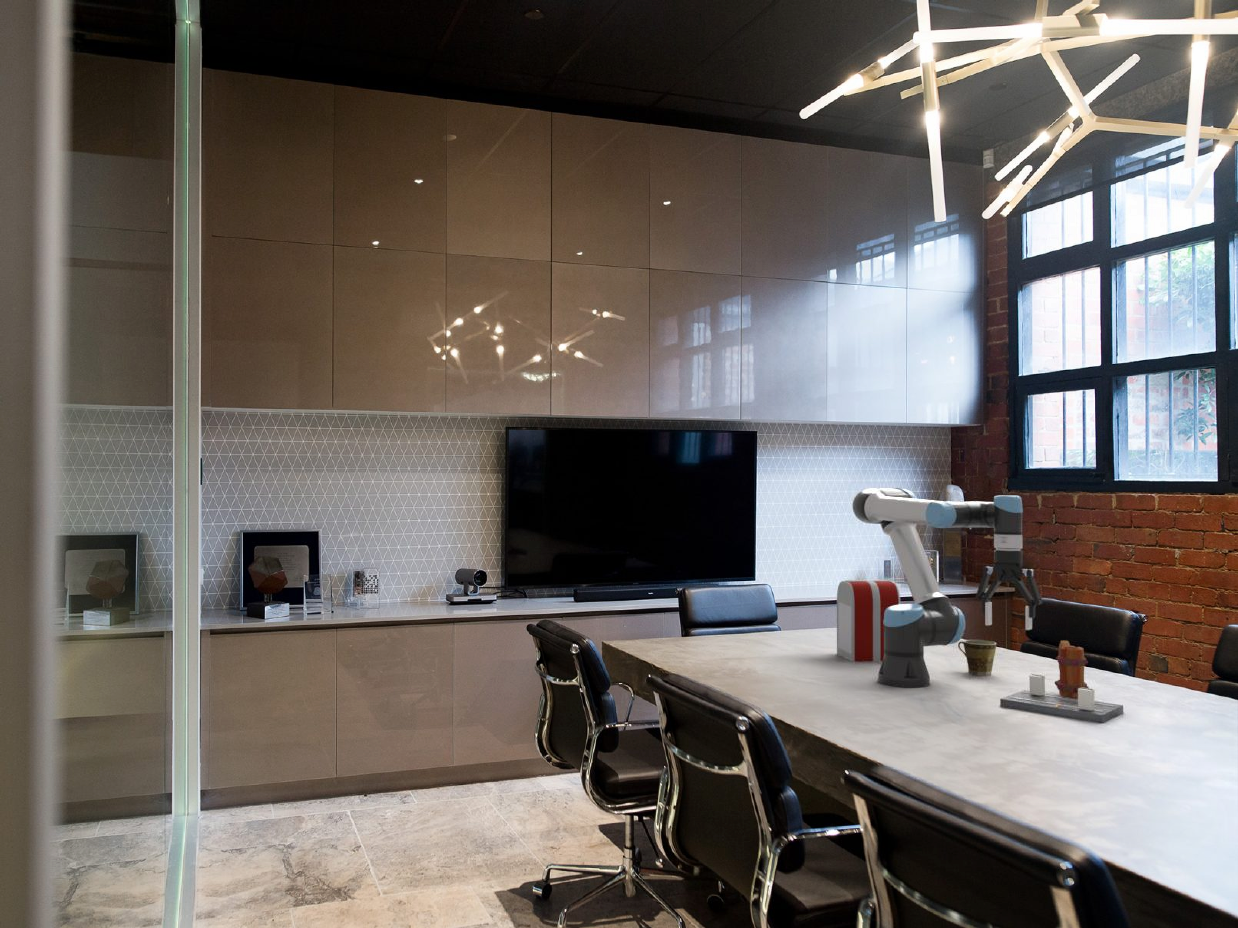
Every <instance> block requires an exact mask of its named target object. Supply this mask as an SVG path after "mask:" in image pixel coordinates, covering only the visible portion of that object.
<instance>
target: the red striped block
mask: <svg viewBox="0 0 1238 928" xmlns="http://www.w3.org/2000/svg"><path fill="white" fill-rule="evenodd" d="M899 604H901V595H900V590H899V587H898V585H897V584H896V582H893V581H892V580H889V579H862V580H861V579H855V580H854V579H853V580H852V579H850V580H849V579H846V580H841V581H840V582H839V584H838V587H837V593H836V654H837V655H838V656H840V657H842V658H845V659H846V660H848V661H849V662H855V663H857V662H859V663H860V662H863V663H864V662H875V663H876V662H882V661H883V658H884V624H883V620H884V612H885V610H886V609H887V608H888V607H890V606H893V605H899Z"/></svg>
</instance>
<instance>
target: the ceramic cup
mask: <svg viewBox="0 0 1238 928" xmlns="http://www.w3.org/2000/svg"><path fill="white" fill-rule="evenodd" d="M961 644H963V649H962V648H961ZM957 646H958V647H957V648H958V649H959V651H960V652H961V653H962V654H963V655H964V656H965V657H966V664H967V668H968V673H969V674H970V675H975V676H989V675H990V676H991V675H992V671H993V665H994V659H995V656H996V651H997V642H995V641H991V640H984V639H965V640H963V641H961V640H960V641H958V644H957Z"/></svg>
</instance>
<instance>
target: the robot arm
mask: <svg viewBox="0 0 1238 928" xmlns="http://www.w3.org/2000/svg"><path fill="white" fill-rule="evenodd" d="M1022 499H1023V498H1022V497H1021V496H1020V495H998V494H997V495H995V496H994V497H993V501H977V500H974V501H973V500H972V501H943V500H933V499H930V500H929V499H920V498H918V497H917V496H916V494H914V493H913V492H912V491H910V490H908V489H905V488H899V487H895V488H874V487H873V488H866V489H864V490H861V491H859V492H858V493H857V494H856V495H855V496H854V498H853V500H852V501H853V502H852V511H853V514H854V516H855V518H857V519H858V520H859V521H861V522H862V523H865V524H872V525H875V524H877V525H879V524H880V527H881V529H882V532H883V534H885V535H887V536H889V537H890V539H891V542H892V546H893V548H894V550H895V553H896V557H897V559H898V561H899V565H900V566H901V570H902V572H903V575H904V577H905V580H906V584H907V586H908V589H909V591H910V594H911V596H912V599H913V601H914V603H906V604H905V603H900V604H899V605H893V606H890V607H888V608H887V609H886V610H885V612H884V620H883V624H884V658H883V661H881V664H880V667H879V671H878V673H877V681H878V682H879V683H880V684H883V685H888V686H893V687H900V688H901V687H903V688H921V687H922V688H923V687H927V686H930V684H931V681H930V680H931V677H930V674H929V669H928V667H927V664H926V661H925V657H924V655H925V653H924V651H925V649H924V648H925V647H932V646H933V647H934V646H948V645H953V644H956V643H959V642H960V641H961V639H962V638H963V635H964V632H965V630H966V619H965V618H966V617H965V615H964V613H963V610H961V609H960V608H958V607H957V606H955V605H952V603H951V601H950V599H949V597H948V596H946V595H945V594H942V592H941V589H940V587H939V585H938V582H937V579H936V577H935V574H934V571H933V569H932V567H931V564H930V561H929V558H928V556H927V554H926V550H925V549H924V546H923V543H922V541H921V537H920V534H919V533H918V530H917V525H923V526H930V527H933V528H936V529H937V528H938V529H947V528H950V529H951V528H959V529H961V528H992V529H993V547H994V551H993V563H994V565H993V566H989V565H988V566H984V567H982V575H981V576H982V577H981V580H980V583H979V585H978V588H977V592H976V594H975V599H976V600H978V601H980V602H981V606H982V607H981V609H982V610H981V611H982V613H983V614H984V615H985V616H984V618H985V619H984V621H985V623H984V625H985V626H991V625H993V607H992V606H993V603H992V602H991V599H992V597H993V595H994V594H995V592H996V591H997V589H998V587H999V586H1000V584H1001V583H1006V582H1007V583H1011V584H1014V585H1015V586H1016V587H1017V590H1018V591H1019V592H1020V594H1021V596H1023V599H1024V600H1025V601H1026V602H1025V603H1027V605H1026V606H1024V607H1025V608H1024V609H1025V616H1024V617H1025V631H1030V630H1032V629H1033V619H1035V618H1036V606H1039V605H1041V604H1043V598H1042V596H1041V593H1040V590H1039V587H1038V584H1037V581H1036V578H1035V569H1033V568H1031V569H1027V568H1026V569H1025V568H1024V566H1023V561H1024V560H1023V554H1024V553H1023V551H1022V549H1023V545H1024V544H1023V513H1024V509H1023V502H1022V501H1023V500H1022ZM993 573H994V574H995V577H994V579H993V580H992V582H991V584H990V586H989V587H988V585H989V580H990V579H991V575H992V574H993ZM1022 575H1024V576H1025V577H1026V581H1027V584H1028V587H1029V589H1028V588H1027V586H1026V585H1025V583H1024V579H1022ZM987 587H988V589H987ZM1029 590H1030V591H1029Z"/></svg>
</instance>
